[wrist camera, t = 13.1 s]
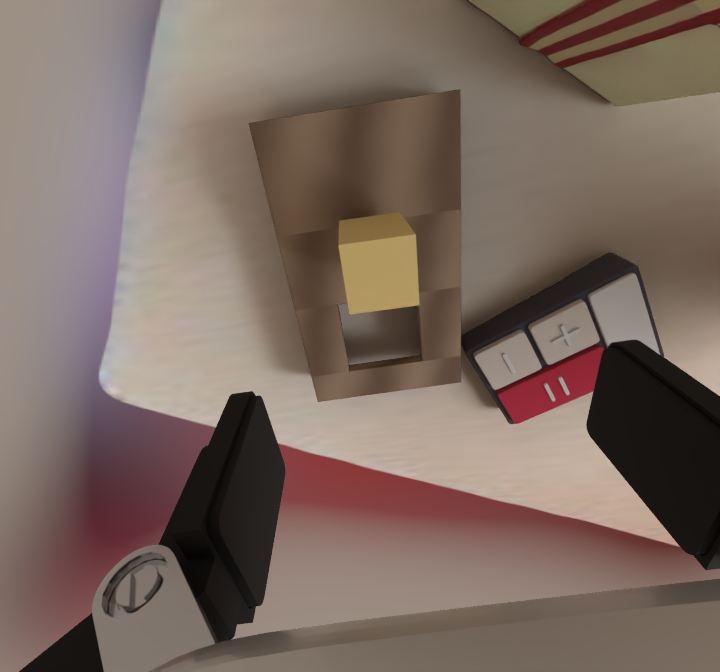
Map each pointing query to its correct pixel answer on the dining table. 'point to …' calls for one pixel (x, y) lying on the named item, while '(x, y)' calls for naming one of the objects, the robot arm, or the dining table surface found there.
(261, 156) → the keyhole board
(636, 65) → the gift box
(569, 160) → the dining table surface
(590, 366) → the calculator
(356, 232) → the peg
